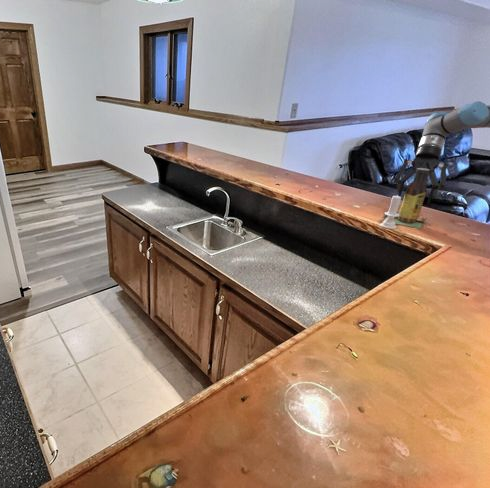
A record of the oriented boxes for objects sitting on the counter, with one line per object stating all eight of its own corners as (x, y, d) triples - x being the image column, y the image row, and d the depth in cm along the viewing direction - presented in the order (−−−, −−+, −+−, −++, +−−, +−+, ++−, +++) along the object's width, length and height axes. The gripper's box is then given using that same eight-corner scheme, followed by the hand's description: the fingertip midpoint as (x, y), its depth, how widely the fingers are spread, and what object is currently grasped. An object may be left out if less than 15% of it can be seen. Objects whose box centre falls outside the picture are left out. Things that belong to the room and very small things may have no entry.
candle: (383, 222, 133) (391, 191, 127) (398, 226, 129) (408, 195, 124) (377, 225, 130) (386, 194, 124) (393, 230, 126) (403, 198, 121)
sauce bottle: (412, 225, 129) (430, 172, 120) (394, 220, 133) (410, 168, 125) (419, 221, 133) (436, 169, 124) (400, 216, 137) (416, 166, 128)
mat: (422, 220, 134) (423, 219, 134) (421, 229, 127) (421, 228, 127) (387, 214, 140) (387, 213, 140) (383, 221, 133) (383, 220, 133)
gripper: (397, 141, 134) (380, 191, 130) (467, 147, 123) (451, 202, 118) (395, 153, 140) (378, 201, 136) (462, 159, 129) (446, 212, 124)
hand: (412, 201), depth 127 cm, fingers open, 8 cm apart
